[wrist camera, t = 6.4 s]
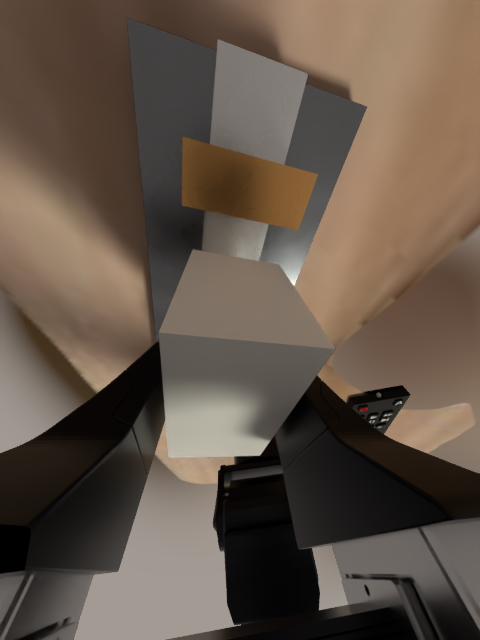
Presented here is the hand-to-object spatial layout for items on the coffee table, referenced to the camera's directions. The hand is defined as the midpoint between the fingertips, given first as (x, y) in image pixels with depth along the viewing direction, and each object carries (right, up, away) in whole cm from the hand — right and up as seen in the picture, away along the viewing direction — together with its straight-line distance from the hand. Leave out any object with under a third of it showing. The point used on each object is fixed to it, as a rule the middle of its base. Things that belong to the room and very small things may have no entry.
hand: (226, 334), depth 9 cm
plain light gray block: (0, +1, +1) cm, 1 cm away
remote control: (+23, -21, +27) cm, 42 cm away
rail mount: (0, +4, +5) cm, 6 cm away
